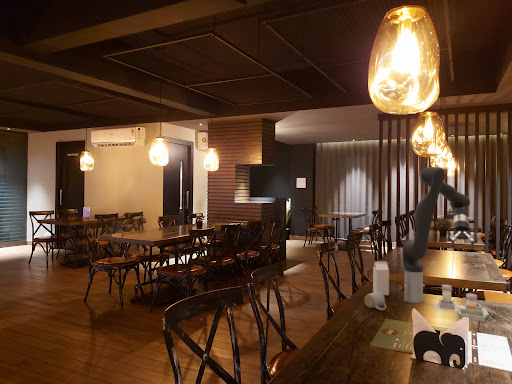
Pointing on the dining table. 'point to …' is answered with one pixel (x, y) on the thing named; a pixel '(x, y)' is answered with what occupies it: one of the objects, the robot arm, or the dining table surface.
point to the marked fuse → (471, 304)
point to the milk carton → (381, 278)
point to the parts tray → (472, 317)
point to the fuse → (447, 293)
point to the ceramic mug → (375, 300)
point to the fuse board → (456, 306)
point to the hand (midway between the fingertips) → (462, 247)
